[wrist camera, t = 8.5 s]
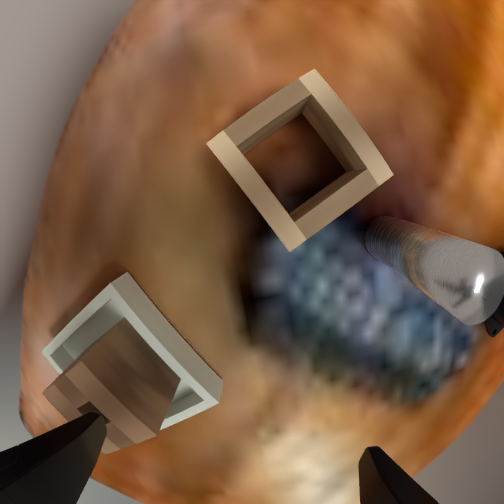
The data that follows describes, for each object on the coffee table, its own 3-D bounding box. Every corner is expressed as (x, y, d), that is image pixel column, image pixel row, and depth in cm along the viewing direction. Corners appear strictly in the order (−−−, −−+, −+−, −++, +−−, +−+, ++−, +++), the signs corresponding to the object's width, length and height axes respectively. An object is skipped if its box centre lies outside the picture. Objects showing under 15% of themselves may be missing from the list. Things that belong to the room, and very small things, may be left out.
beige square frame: (367, 176, 17) (393, 174, 13) (284, 237, 18) (289, 252, 14) (304, 92, 16) (314, 68, 12) (219, 152, 17) (206, 143, 13)
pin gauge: (410, 242, 18) (513, 292, 8) (378, 267, 18) (465, 339, 8) (390, 206, 17) (495, 232, 7) (356, 232, 18) (443, 282, 8)
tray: (223, 381, 20) (219, 403, 18) (137, 424, 22) (128, 442, 20) (127, 271, 19) (110, 282, 16) (57, 338, 21) (41, 351, 18)
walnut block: (181, 378, 20) (157, 435, 14) (132, 405, 21) (104, 454, 15) (124, 317, 19) (81, 360, 13) (82, 352, 20) (41, 393, 14)
